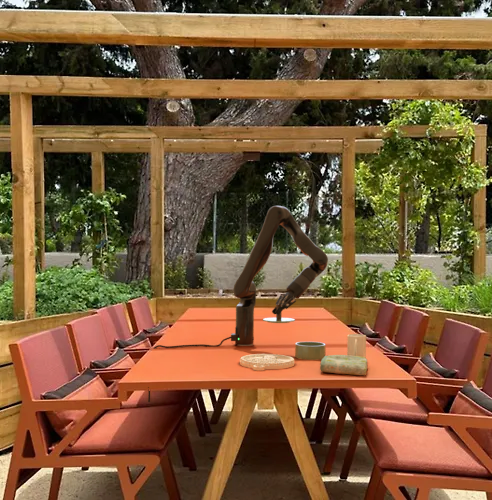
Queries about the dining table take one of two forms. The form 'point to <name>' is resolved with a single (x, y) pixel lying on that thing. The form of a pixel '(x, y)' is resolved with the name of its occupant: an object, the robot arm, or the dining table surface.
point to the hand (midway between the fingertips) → (274, 313)
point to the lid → (278, 318)
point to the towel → (344, 364)
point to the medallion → (266, 361)
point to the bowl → (310, 350)
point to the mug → (356, 345)
